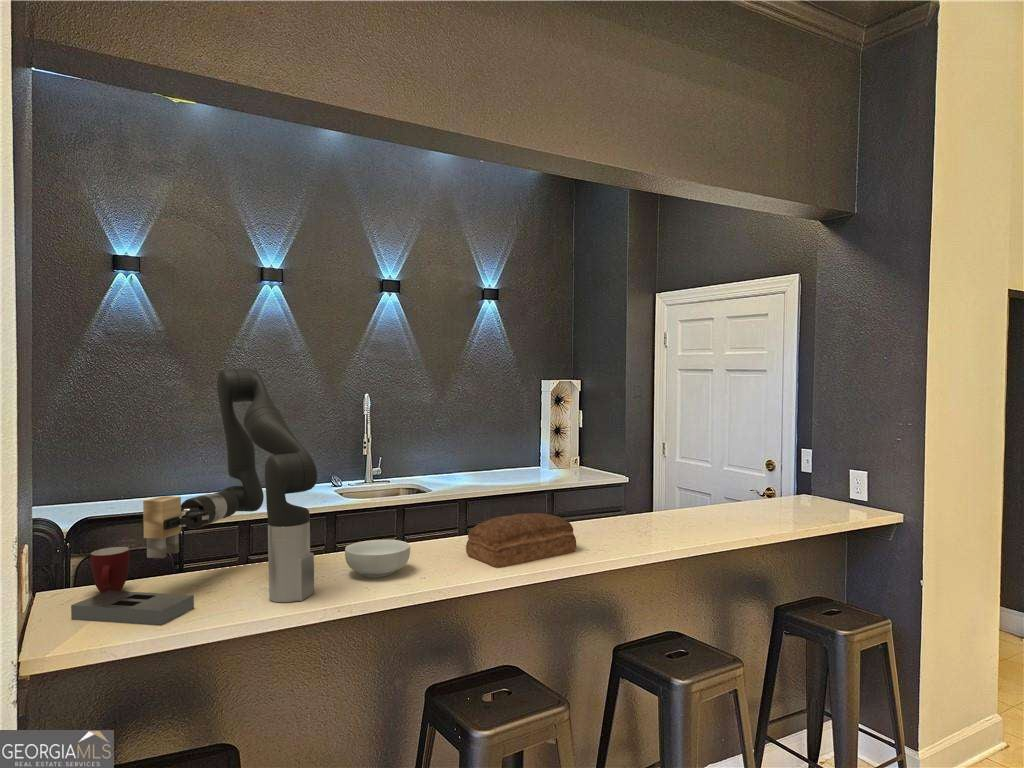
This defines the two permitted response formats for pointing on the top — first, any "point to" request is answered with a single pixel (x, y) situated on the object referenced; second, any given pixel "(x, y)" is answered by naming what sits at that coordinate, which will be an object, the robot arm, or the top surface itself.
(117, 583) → the mug
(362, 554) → the cereal bowl
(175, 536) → the tan wooden tall block
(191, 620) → the top surface
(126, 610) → the dark grey slab
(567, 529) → the bread
